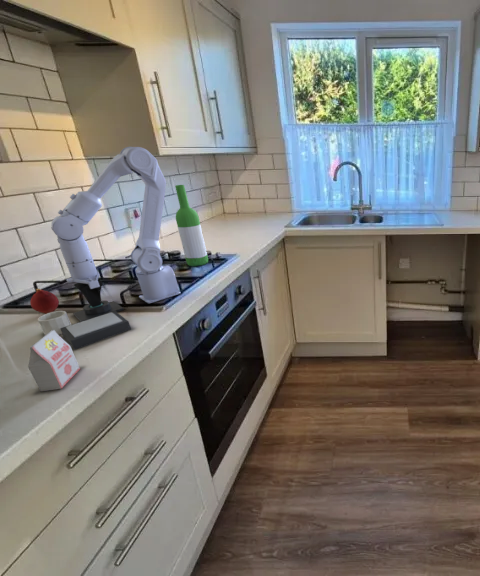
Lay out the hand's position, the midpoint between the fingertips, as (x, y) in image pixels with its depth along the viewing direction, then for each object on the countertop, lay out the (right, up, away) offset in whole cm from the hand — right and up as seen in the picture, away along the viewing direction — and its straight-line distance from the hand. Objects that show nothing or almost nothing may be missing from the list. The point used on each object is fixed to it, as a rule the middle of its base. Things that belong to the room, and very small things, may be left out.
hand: (96, 305), depth 103 cm
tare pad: (0, -2, +1) cm, 2 cm away
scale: (+8, -7, -10) cm, 15 cm away
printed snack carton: (+15, -14, -28) cm, 35 cm away
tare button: (0, -1, +1) cm, 1 cm away
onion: (-14, -3, +1) cm, 14 cm away
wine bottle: (+9, +14, +39) cm, 43 cm away
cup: (-3, -6, -9) cm, 11 cm away
